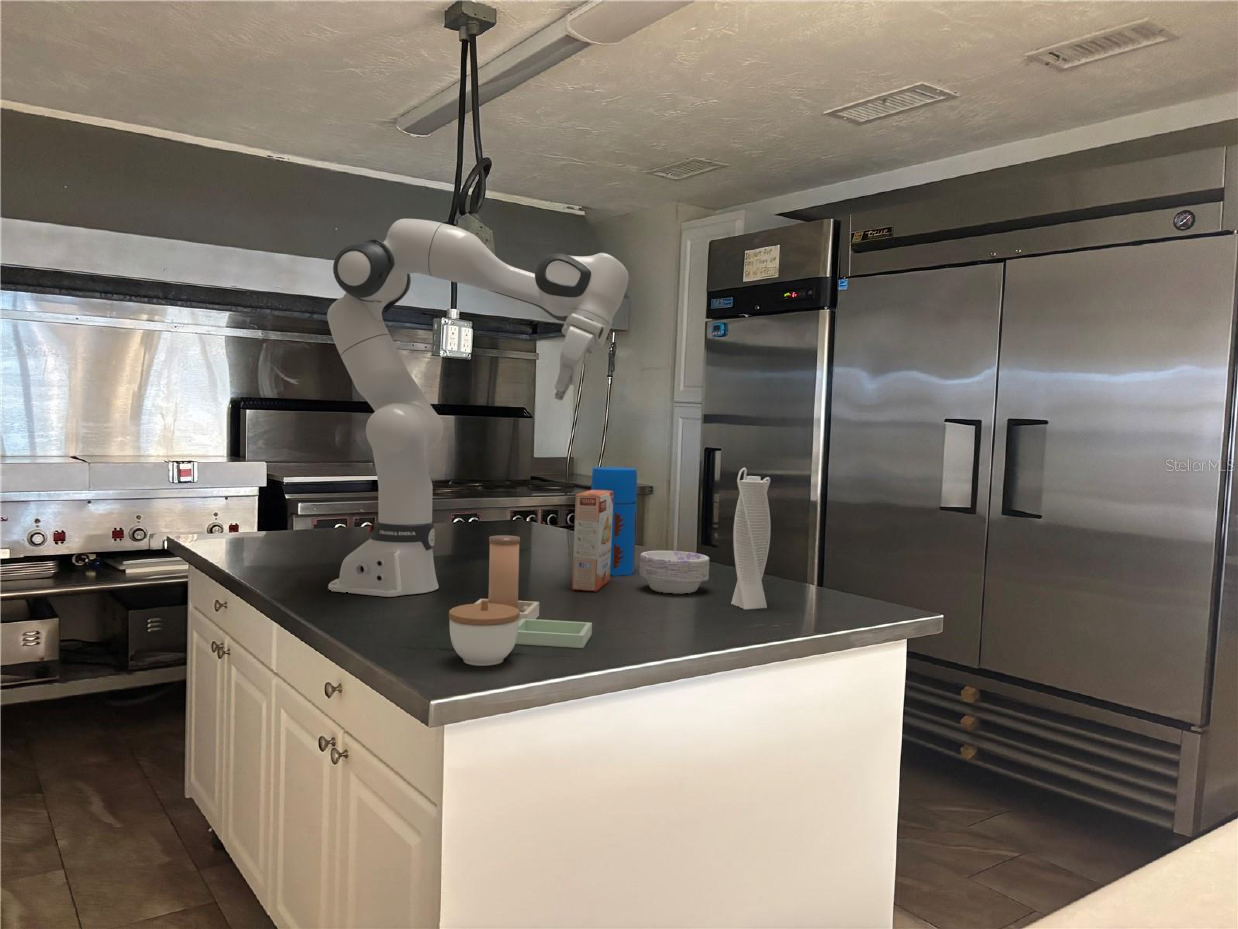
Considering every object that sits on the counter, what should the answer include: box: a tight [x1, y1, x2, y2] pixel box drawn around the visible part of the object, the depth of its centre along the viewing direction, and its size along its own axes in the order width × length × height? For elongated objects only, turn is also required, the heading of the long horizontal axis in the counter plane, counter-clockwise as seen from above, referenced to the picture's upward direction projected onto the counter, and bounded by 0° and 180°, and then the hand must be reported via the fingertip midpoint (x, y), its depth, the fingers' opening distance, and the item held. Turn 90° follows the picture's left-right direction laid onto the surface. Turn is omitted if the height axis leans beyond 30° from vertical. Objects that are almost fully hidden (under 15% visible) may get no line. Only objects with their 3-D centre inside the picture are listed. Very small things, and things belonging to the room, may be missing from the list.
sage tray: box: [515, 618, 593, 649], centre depth 149 cm, size 12×9×3 cm
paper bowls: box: [638, 550, 710, 595], centre depth 198 cm, size 15×15×8 cm
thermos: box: [591, 466, 638, 577], centre depth 217 cm, size 11×11×25 cm
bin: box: [473, 598, 540, 621], centre depth 162 cm, size 22×10×4 cm, turn 83°
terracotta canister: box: [488, 534, 521, 609], centre depth 161 cm, size 5×5×15 cm
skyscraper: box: [731, 467, 771, 610], centre depth 184 cm, size 8×7×28 cm
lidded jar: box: [448, 598, 520, 667], centre depth 139 cm, size 11×11×9 cm
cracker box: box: [571, 489, 614, 593], centre depth 200 cm, size 14×6×21 cm, turn 168°
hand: (558, 394), depth 179 cm, fingers open, 8 cm apart
